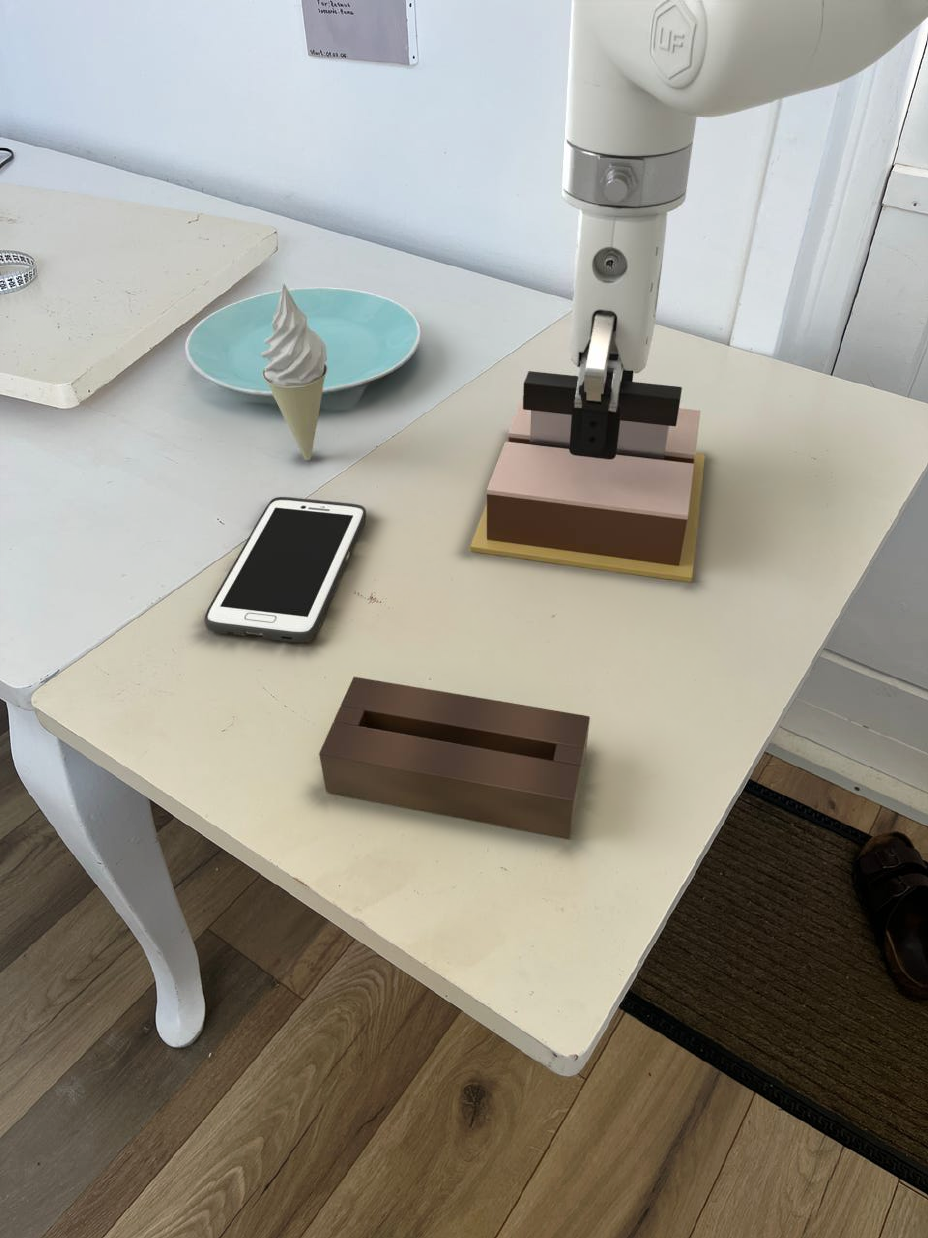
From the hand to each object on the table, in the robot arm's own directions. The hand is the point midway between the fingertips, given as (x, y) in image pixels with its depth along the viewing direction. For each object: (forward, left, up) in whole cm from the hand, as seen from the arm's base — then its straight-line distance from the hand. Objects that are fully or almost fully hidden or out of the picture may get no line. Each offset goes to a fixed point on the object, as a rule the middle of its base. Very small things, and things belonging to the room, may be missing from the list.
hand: (602, 418), depth 69 cm
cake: (0, 0, -7) cm, 7 cm away
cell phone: (+20, +13, -7) cm, 25 cm away
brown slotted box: (+4, +28, -7) cm, 29 cm away
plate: (+30, -17, -8) cm, 35 cm away
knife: (0, 0, -7) cm, 7 cm away
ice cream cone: (+24, -1, -8) cm, 25 cm away
